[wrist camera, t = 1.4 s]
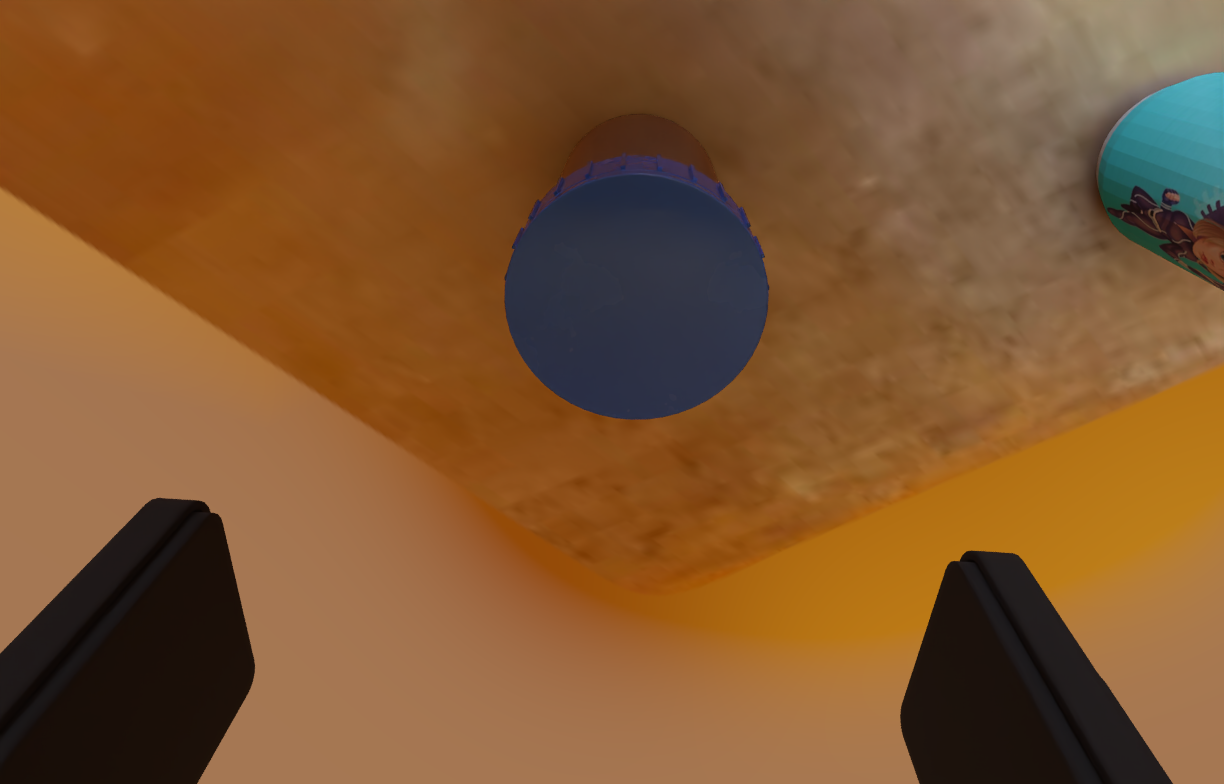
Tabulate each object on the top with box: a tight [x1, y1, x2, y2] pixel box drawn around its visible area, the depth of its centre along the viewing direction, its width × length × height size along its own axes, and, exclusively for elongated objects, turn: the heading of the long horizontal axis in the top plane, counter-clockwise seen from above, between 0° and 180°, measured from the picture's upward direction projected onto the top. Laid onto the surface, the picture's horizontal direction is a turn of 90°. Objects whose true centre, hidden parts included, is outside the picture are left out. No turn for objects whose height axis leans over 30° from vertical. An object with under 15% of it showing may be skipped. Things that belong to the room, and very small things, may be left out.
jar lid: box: [505, 153, 769, 420], centre depth 20 cm, size 7×7×2 cm
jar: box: [560, 114, 719, 184], centre depth 24 cm, size 6×6×10 cm
